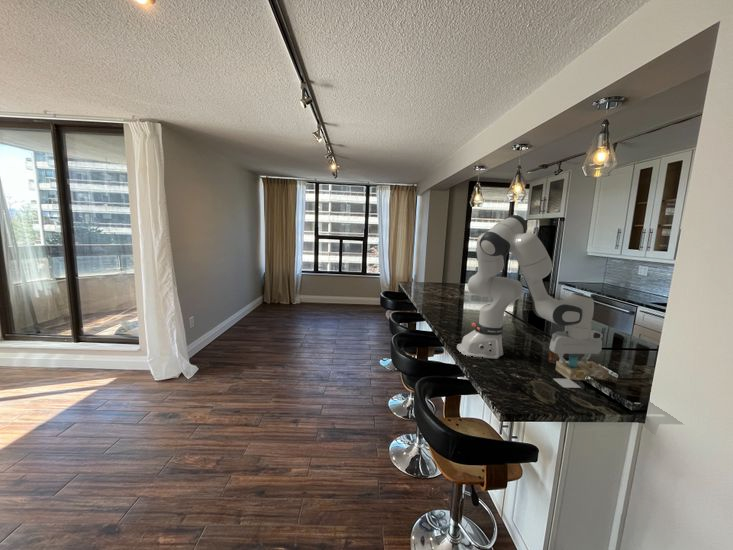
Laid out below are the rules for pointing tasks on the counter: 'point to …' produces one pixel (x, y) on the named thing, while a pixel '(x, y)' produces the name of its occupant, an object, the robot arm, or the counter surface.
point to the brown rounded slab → (553, 357)
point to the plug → (573, 360)
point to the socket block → (581, 370)
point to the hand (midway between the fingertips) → (572, 362)
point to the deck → (567, 383)
